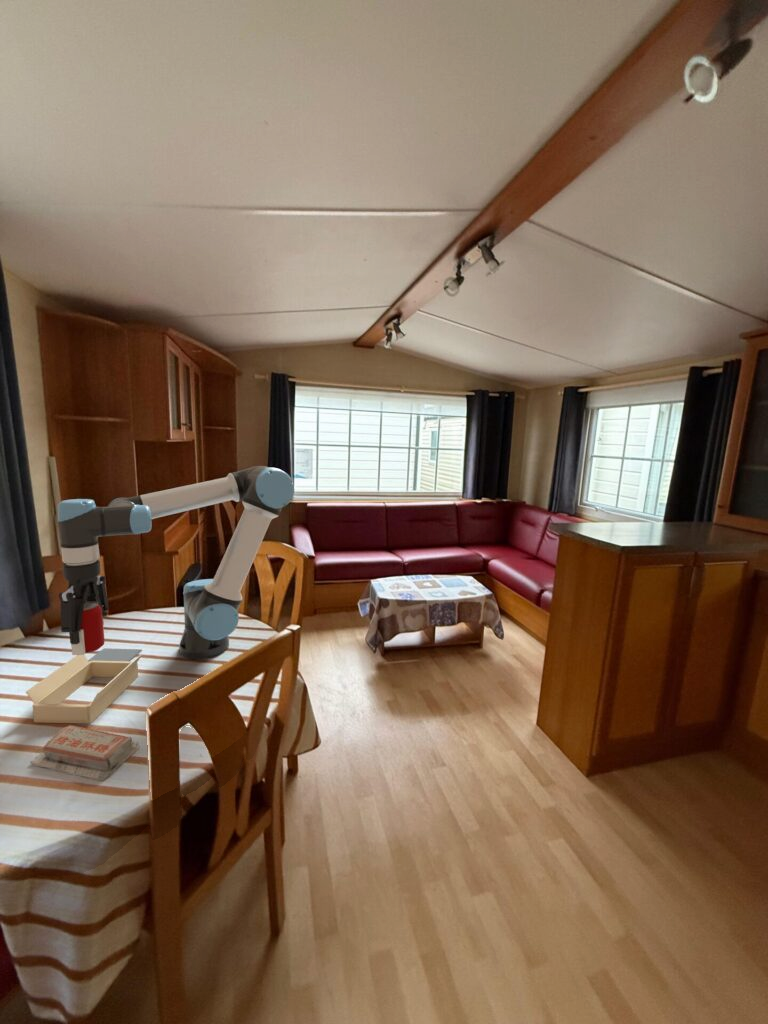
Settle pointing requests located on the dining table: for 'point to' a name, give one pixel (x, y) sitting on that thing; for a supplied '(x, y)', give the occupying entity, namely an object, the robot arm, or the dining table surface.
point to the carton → (70, 679)
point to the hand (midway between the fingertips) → (89, 646)
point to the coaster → (115, 655)
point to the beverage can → (92, 626)
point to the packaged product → (86, 752)
